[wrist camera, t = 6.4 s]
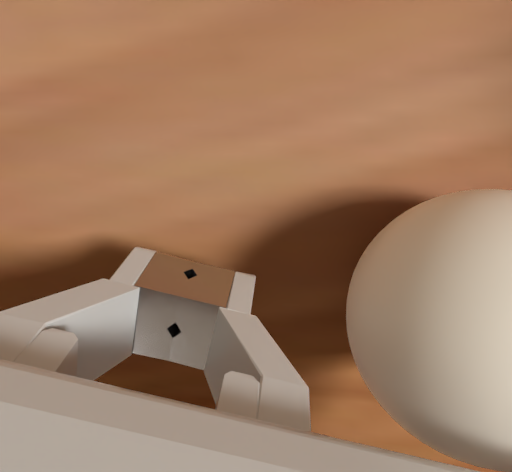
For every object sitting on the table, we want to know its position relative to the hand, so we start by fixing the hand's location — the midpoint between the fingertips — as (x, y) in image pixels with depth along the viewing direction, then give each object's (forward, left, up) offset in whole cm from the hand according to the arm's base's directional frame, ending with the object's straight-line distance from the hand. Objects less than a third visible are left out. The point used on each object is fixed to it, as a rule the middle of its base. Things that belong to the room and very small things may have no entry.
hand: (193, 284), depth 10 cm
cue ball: (+2, -6, +1) cm, 6 cm away
